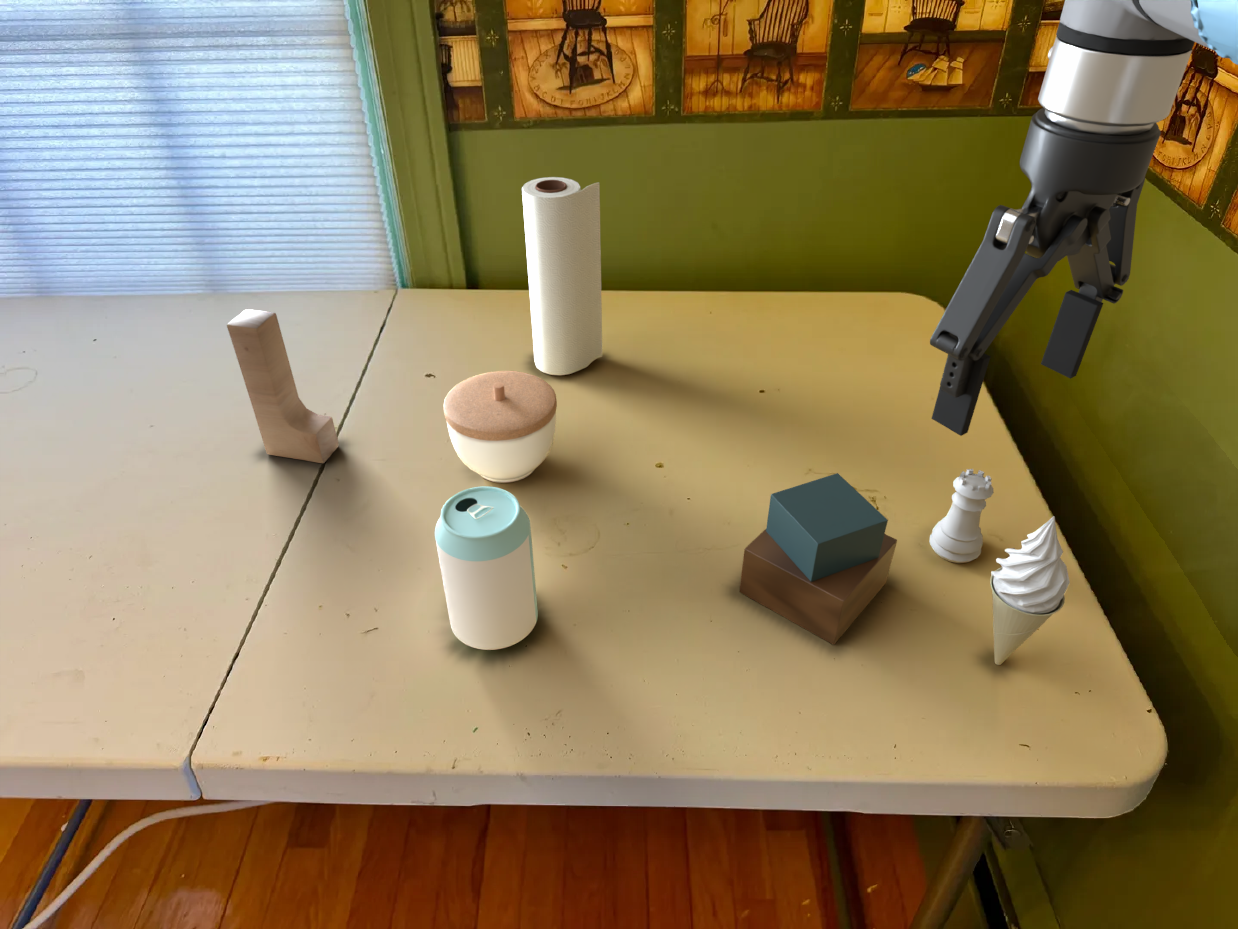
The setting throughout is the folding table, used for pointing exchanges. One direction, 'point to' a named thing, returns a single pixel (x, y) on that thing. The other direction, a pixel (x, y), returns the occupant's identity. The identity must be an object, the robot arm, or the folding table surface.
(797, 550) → the top block
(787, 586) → the base block
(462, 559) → the can
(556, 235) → the paper towel roll
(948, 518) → the rook chess piece
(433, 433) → the folding table surface
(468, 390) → the trinket box
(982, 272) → the robot arm
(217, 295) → the folding table surface
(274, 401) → the wooden block
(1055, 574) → the ice cream cone
